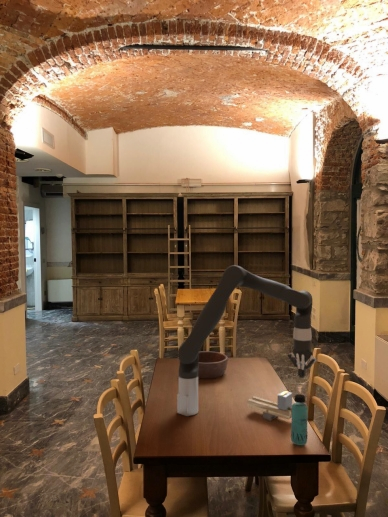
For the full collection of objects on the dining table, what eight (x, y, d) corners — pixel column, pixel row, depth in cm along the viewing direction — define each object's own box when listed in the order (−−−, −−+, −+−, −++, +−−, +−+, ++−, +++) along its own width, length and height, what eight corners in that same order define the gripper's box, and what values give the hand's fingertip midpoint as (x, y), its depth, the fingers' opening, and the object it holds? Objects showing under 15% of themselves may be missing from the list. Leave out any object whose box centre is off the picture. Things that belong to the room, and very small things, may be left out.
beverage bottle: (287, 444, 166) (287, 395, 165) (296, 439, 170) (297, 391, 169) (301, 450, 161) (302, 400, 160) (310, 444, 166) (311, 395, 165)
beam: (288, 426, 181) (288, 412, 181) (246, 413, 195) (246, 400, 194) (295, 421, 187) (295, 407, 186) (254, 408, 200) (254, 395, 200)
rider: (285, 414, 182) (285, 396, 182) (277, 412, 185) (277, 394, 184) (291, 410, 187) (292, 392, 187) (283, 407, 190) (283, 390, 189)
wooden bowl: (179, 377, 244) (179, 360, 243) (195, 365, 267) (195, 349, 266) (219, 383, 234) (219, 365, 233) (233, 370, 257) (233, 353, 256)
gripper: (284, 337, 180) (283, 376, 181) (313, 341, 172) (313, 383, 173) (292, 333, 186) (291, 371, 187) (320, 338, 178) (320, 378, 179)
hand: (301, 377), depth 180 cm, fingers closed
